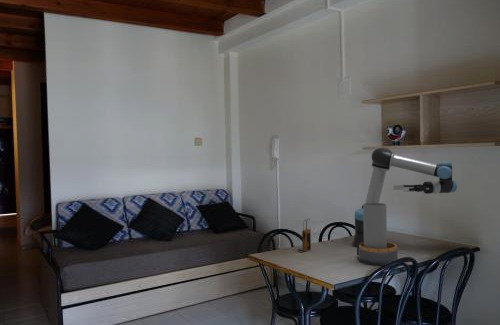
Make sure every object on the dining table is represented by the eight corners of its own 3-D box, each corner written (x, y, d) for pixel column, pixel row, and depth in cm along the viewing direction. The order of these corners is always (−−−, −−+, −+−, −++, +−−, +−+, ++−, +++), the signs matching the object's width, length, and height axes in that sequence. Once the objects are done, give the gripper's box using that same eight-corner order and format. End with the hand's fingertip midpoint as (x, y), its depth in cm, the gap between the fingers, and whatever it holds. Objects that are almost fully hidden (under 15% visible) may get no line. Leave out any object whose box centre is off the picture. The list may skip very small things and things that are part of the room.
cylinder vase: (389, 250, 241) (389, 205, 240) (367, 251, 241) (366, 205, 240) (382, 245, 254) (382, 202, 253) (361, 246, 254) (360, 203, 253)
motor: (347, 258, 253) (347, 243, 253) (373, 253, 264) (373, 238, 264) (379, 267, 233) (379, 251, 233) (405, 261, 244) (405, 245, 243)
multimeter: (299, 246, 287) (298, 216, 287) (313, 248, 282) (312, 217, 281) (289, 251, 275) (288, 219, 274) (304, 253, 269) (303, 220, 269)
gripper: (441, 195, 262) (407, 196, 259) (421, 191, 286) (390, 192, 284) (441, 183, 261) (407, 184, 259) (421, 180, 286) (389, 181, 284)
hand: (398, 188), depth 272 cm, fingers open, 13 cm apart
